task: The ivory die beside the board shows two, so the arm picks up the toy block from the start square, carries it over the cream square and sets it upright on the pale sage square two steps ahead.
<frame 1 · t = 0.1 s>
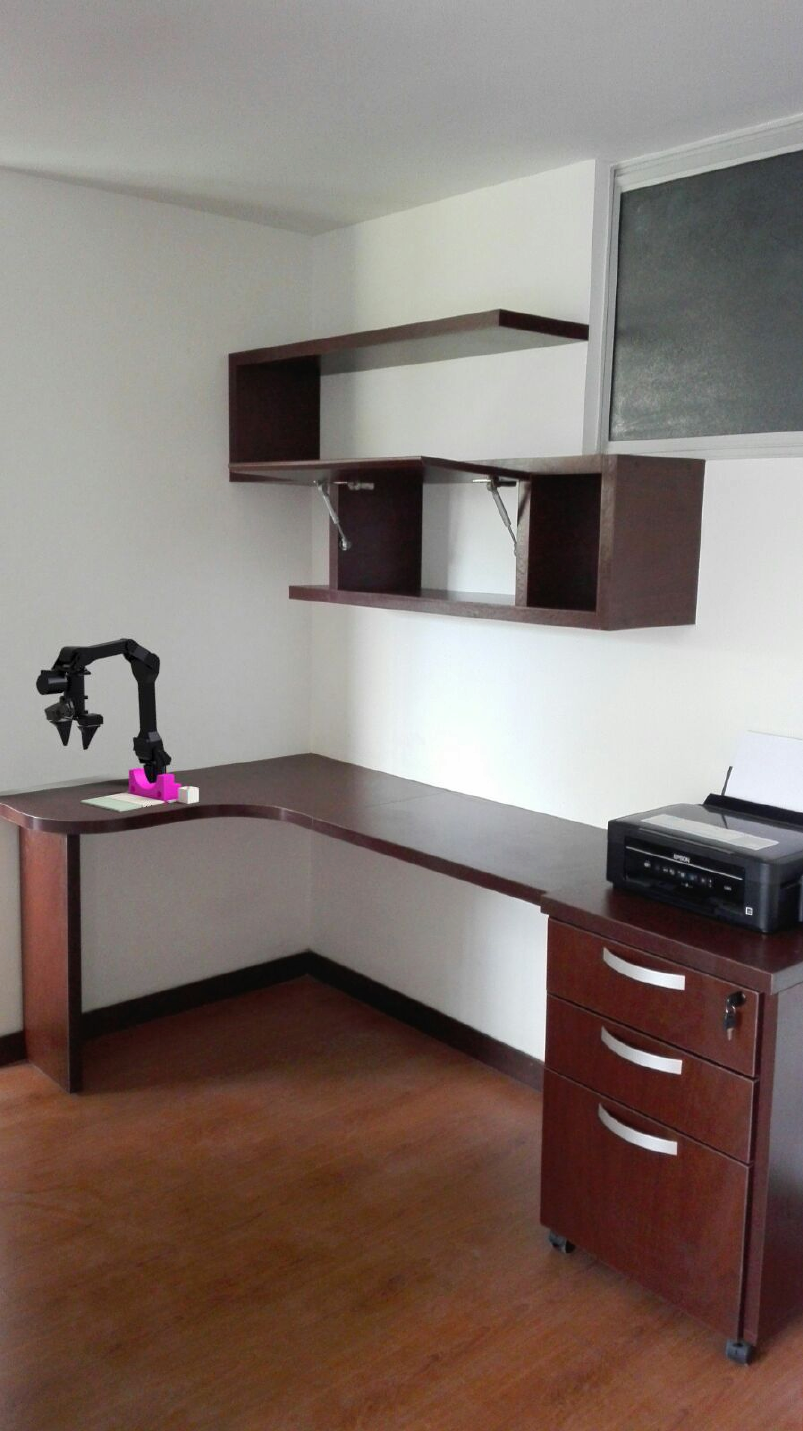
hand: (75, 747, 329), 15 cm above the table, tool pointing down, fingers open, 9 cm apart
game board: (133, 800, 331), on the table
die: (188, 802, 331), on the table
toy block: (155, 798, 337), on the table
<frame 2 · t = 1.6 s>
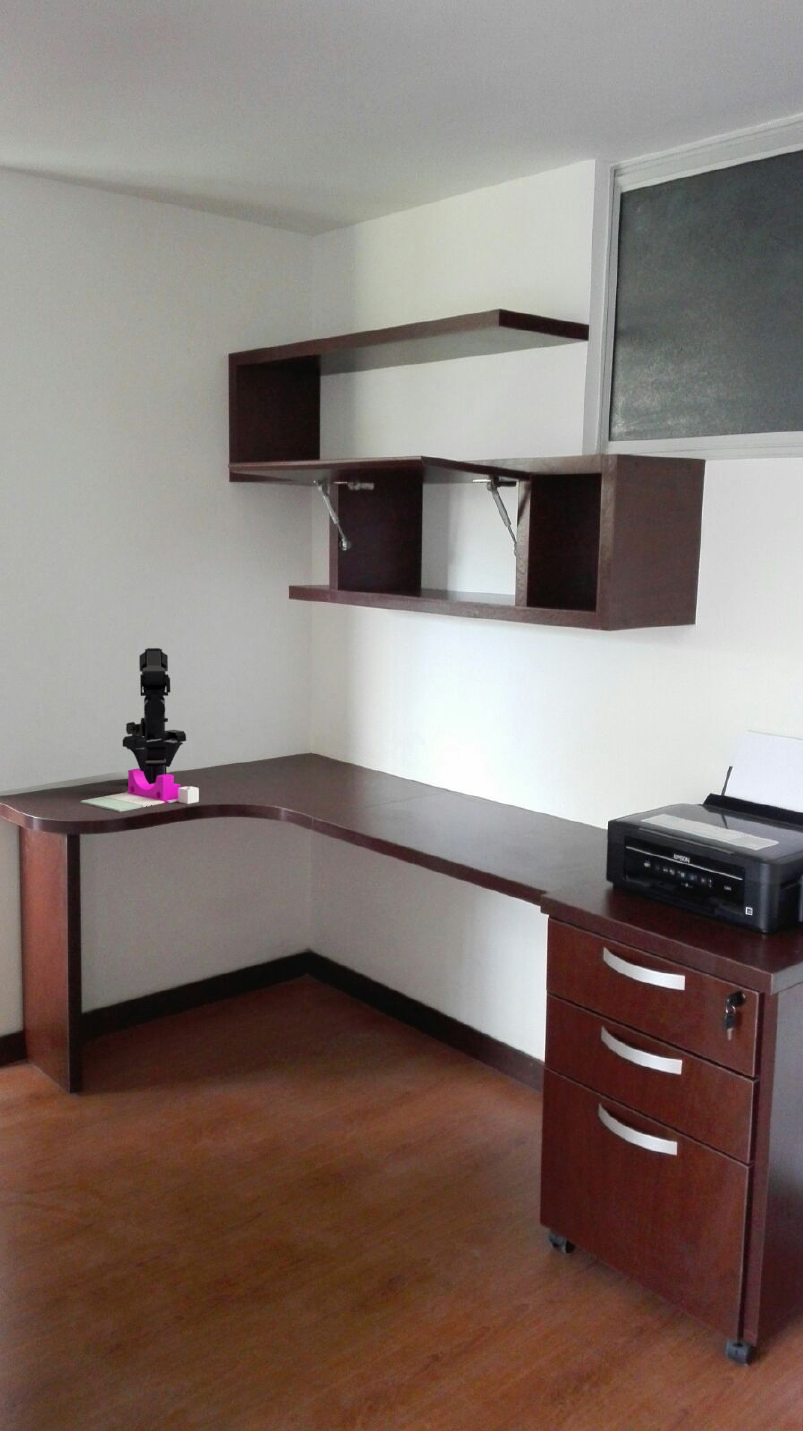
hand: (155, 768, 336), 8 cm above the table, tool pointing down, fingers open, 9 cm apart
nothing on the table moved.
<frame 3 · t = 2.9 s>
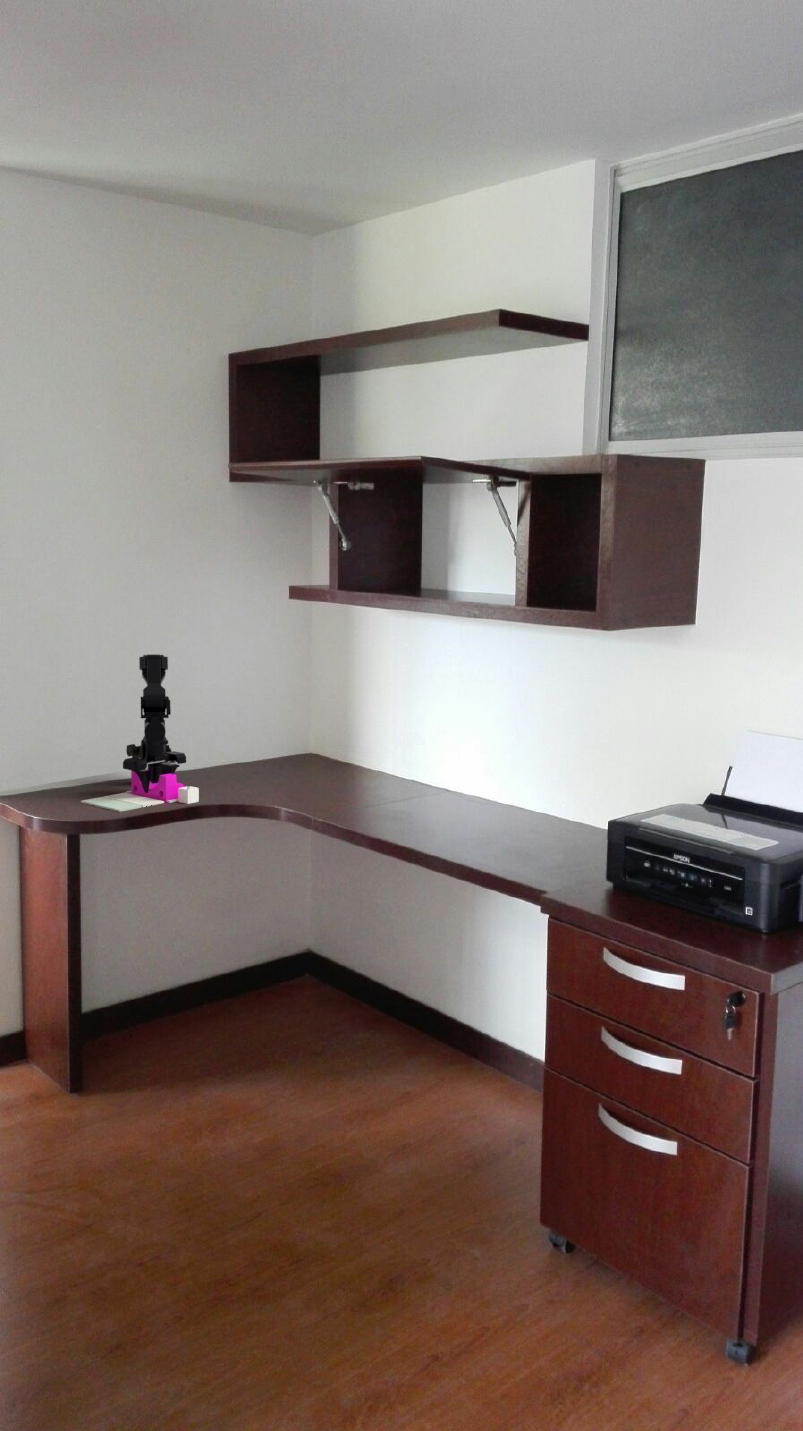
hand: (155, 790, 337), 2 cm above the table, tool pointing down, fingers closed on toy block, 6 cm apart
toy block: (157, 798, 337), on the table, touching gripper
everything else where it was.
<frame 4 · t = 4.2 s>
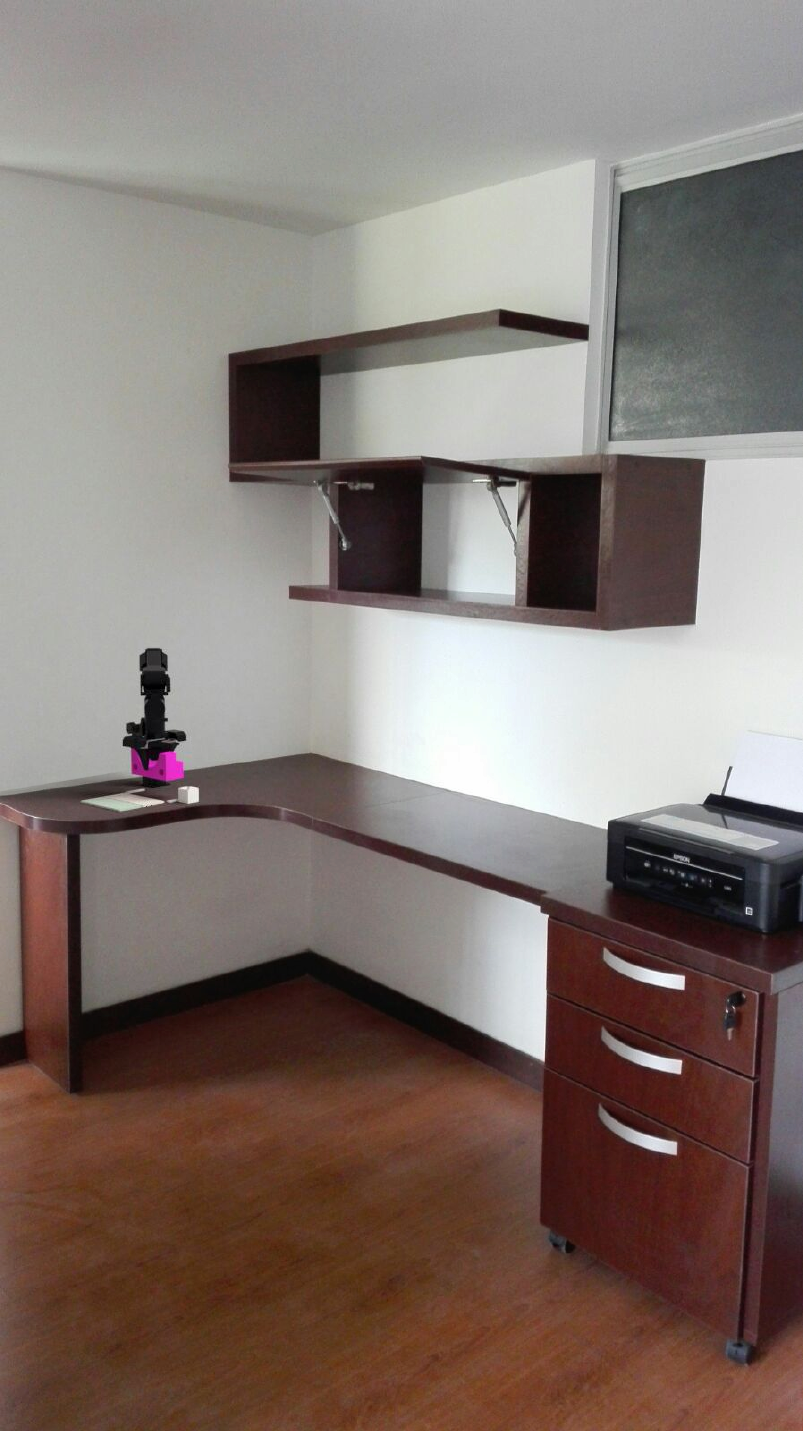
hand: (155, 768, 336), 8 cm above the table, tool pointing down, fingers closed on toy block, 6 cm apart
toy block: (157, 776, 336), point 6 cm above the table, touching gripper
everything else where it was.
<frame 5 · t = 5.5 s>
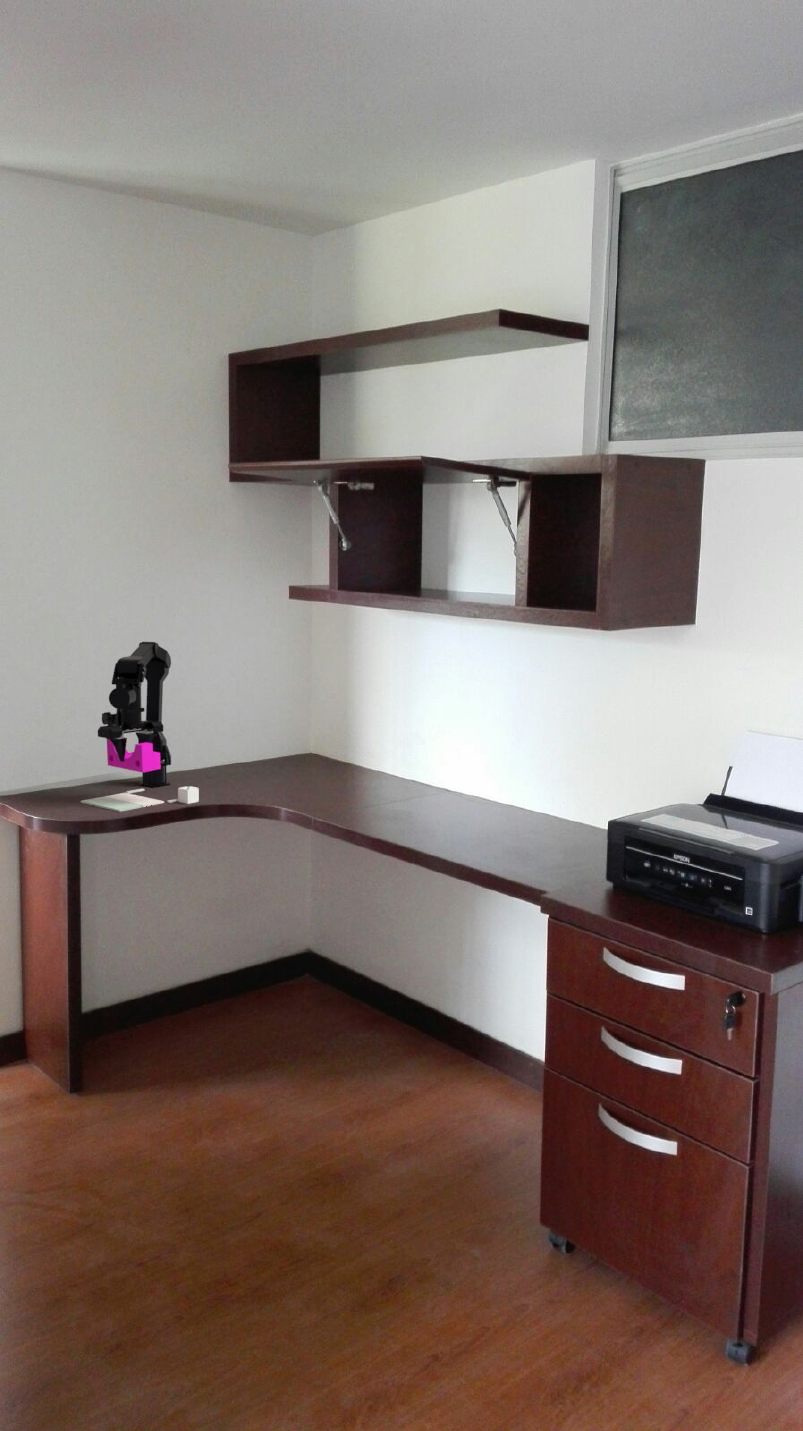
hand: (131, 759, 329), 12 cm above the table, tool pointing down, fingers closed on toy block, 6 cm apart
toy block: (134, 767, 329), point 10 cm above the table, touching gripper
everything else where it was.
when the fingers open (3 cm above the table, at t = 7.9 s): toy block drops 1 cm, resting on game board.
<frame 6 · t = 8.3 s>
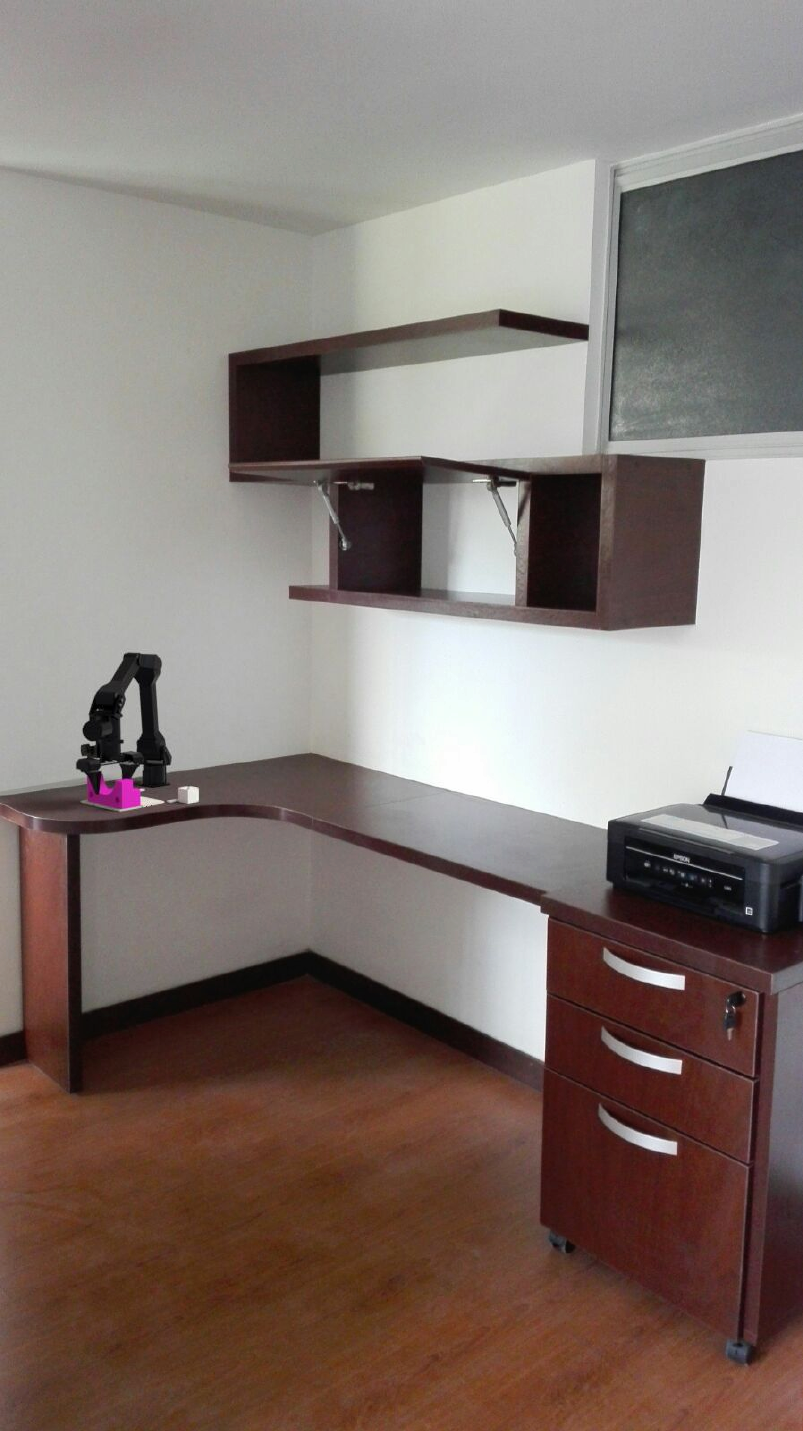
hand: (110, 792, 324), 4 cm above the table, tool pointing down, fingers open, 9 cm apart
toy block: (113, 804, 325), resting on game board
everything else where it was.
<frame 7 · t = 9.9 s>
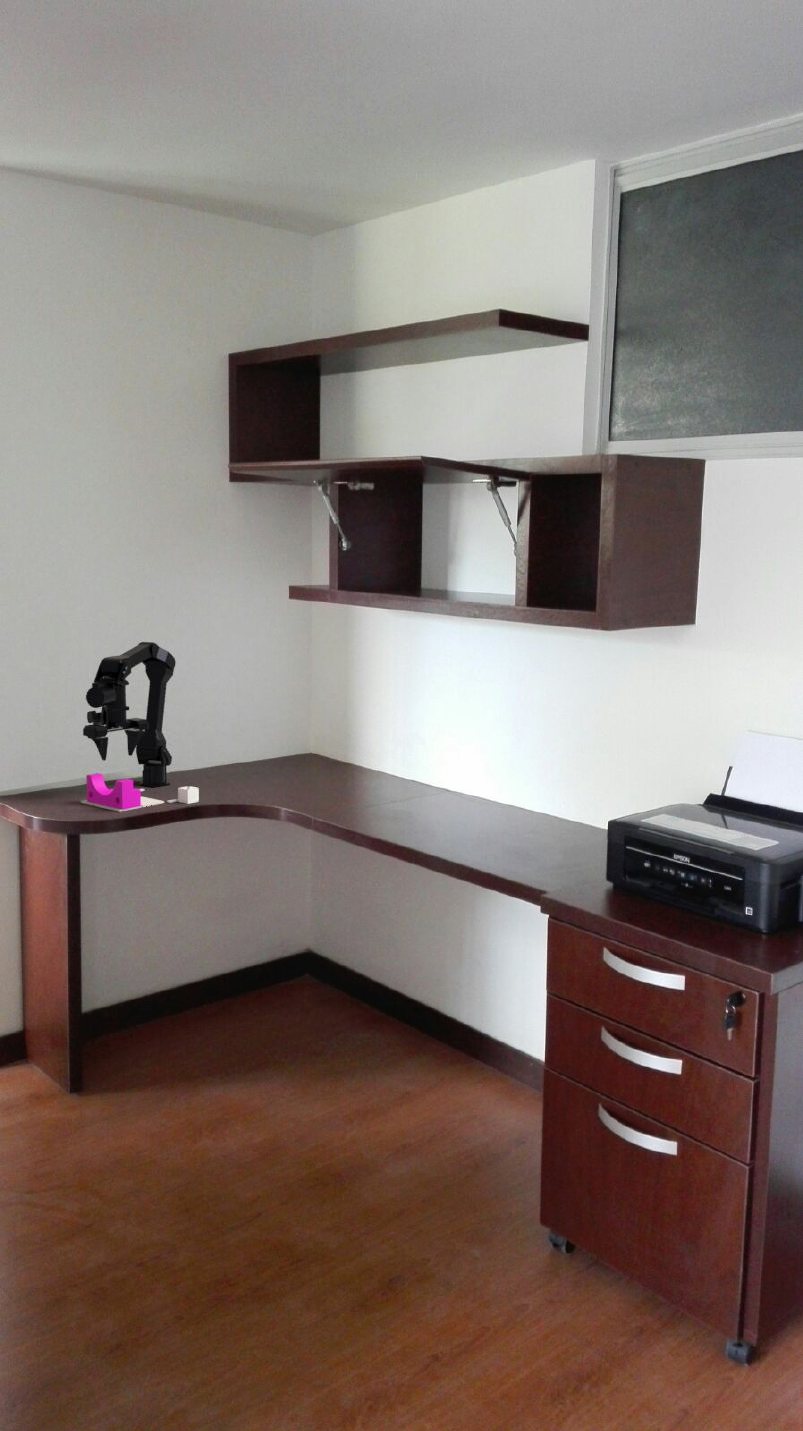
hand: (117, 757, 332), 12 cm above the table, tool pointing down, fingers open, 9 cm apart
nothing on the table moved.
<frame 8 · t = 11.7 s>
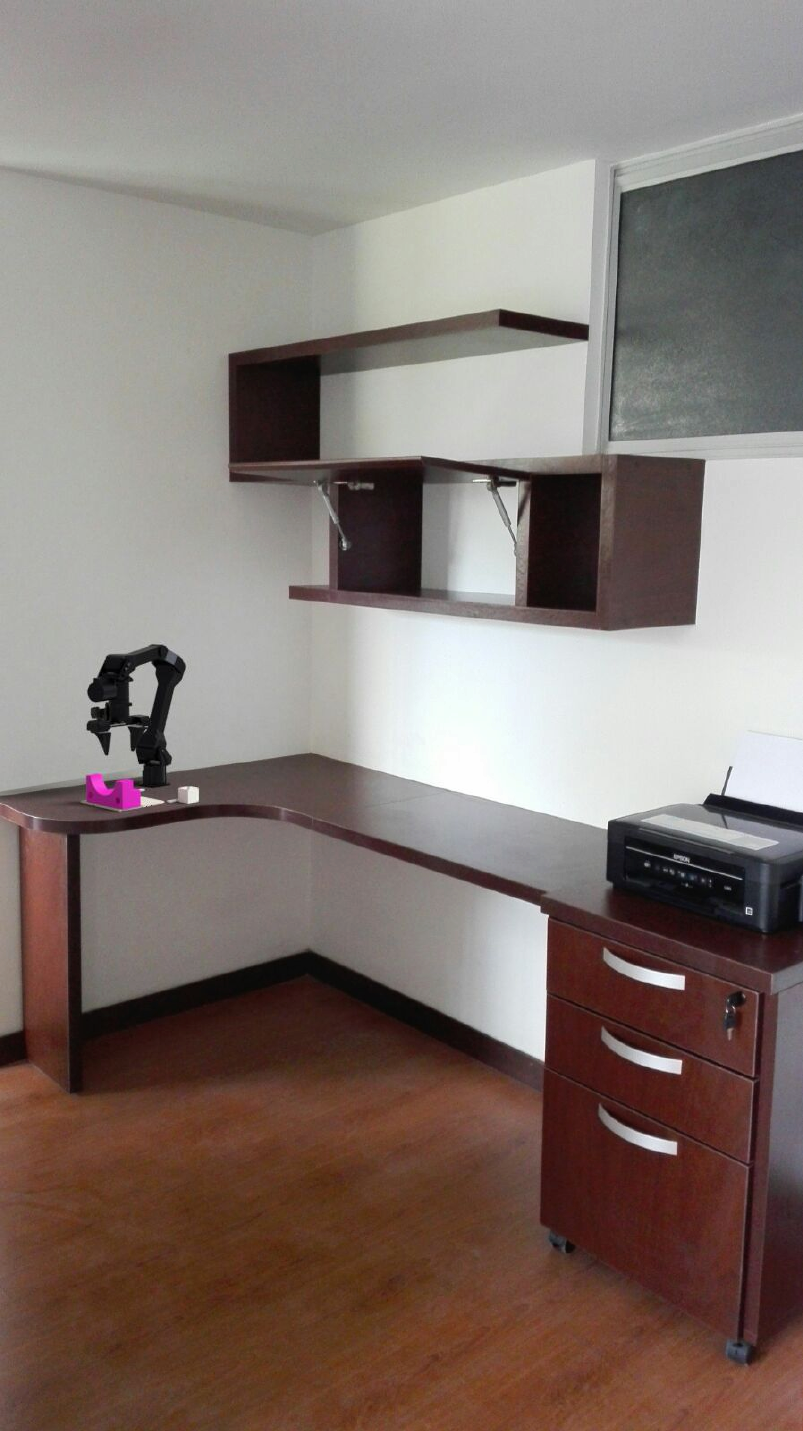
hand: (119, 753, 337), 12 cm above the table, tool pointing down, fingers open, 9 cm apart
nothing on the table moved.
at the end: toy block 1.3 cm from the target spot on the game board, point 0.3 cm above the game board's base; toy block tilted 0°; the gripper is holding nothing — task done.
